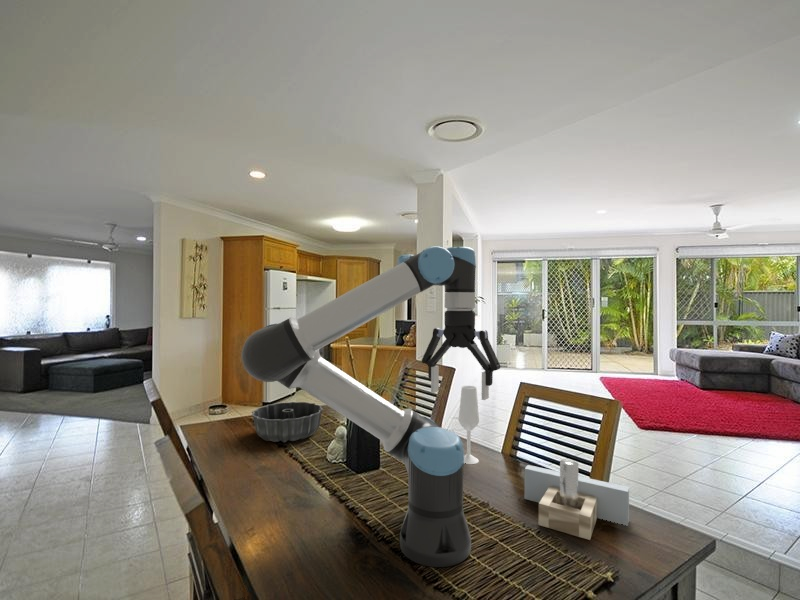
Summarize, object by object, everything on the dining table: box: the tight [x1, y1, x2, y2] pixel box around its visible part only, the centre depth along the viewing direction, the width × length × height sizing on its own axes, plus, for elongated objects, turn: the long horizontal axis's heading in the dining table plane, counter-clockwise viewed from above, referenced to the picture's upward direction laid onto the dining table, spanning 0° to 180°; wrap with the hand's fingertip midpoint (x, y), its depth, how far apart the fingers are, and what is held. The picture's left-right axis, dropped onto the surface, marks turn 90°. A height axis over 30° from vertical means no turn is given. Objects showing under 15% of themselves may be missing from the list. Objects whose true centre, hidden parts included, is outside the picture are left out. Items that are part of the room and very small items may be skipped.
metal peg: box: [559, 459, 579, 509], centre depth 98 cm, size 4×4×14 cm
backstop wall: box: [524, 464, 630, 527], centre depth 104 cm, size 3×24×8 cm, turn 57°
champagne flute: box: [458, 385, 480, 465], centre depth 135 cm, size 7×7×24 cm
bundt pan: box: [251, 401, 324, 444], centre depth 159 cm, size 26×26×10 cm
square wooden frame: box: [538, 486, 598, 541], centre depth 97 cm, size 11×11×5 cm
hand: (459, 395), depth 102 cm, fingers open, 13 cm apart
